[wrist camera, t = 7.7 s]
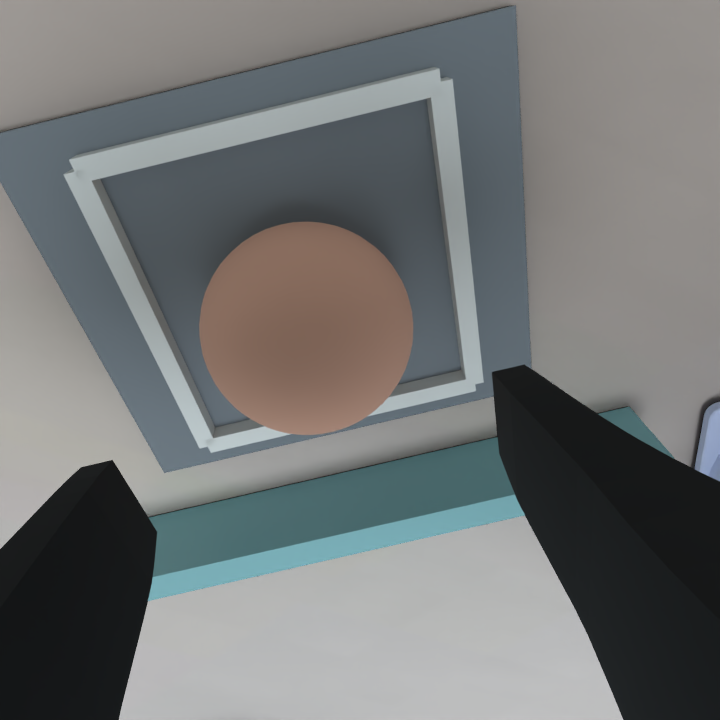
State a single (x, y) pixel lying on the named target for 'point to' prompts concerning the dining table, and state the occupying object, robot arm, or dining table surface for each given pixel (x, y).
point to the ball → (306, 328)
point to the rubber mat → (291, 215)
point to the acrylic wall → (342, 514)
